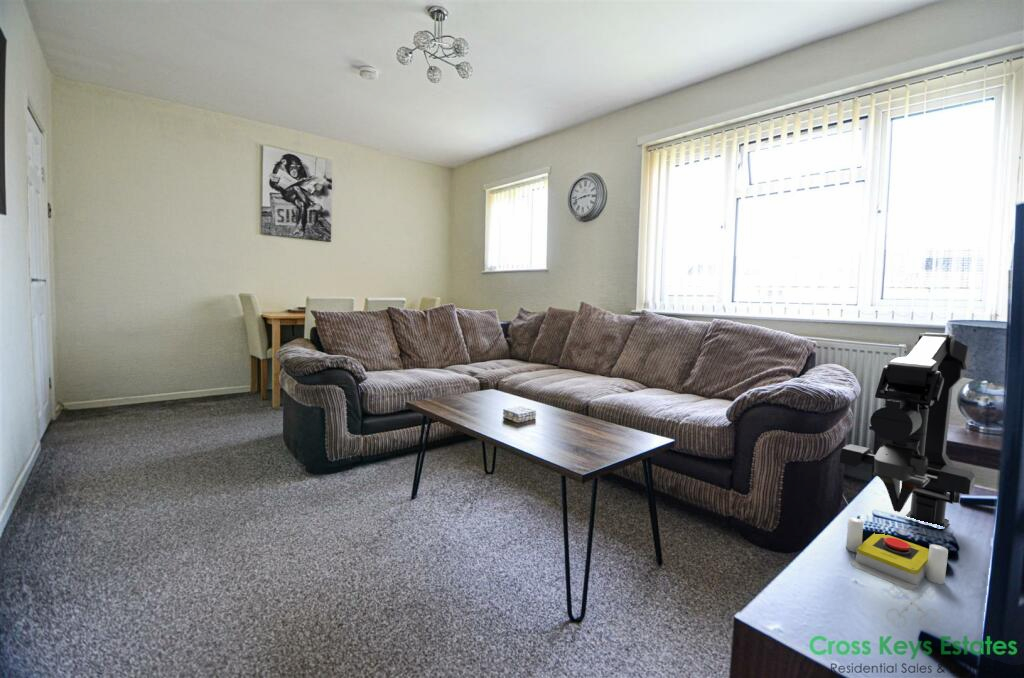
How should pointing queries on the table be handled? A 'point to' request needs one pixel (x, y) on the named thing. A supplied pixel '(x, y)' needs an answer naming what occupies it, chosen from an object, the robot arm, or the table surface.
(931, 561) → the post
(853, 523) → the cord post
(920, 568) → the emergency button
